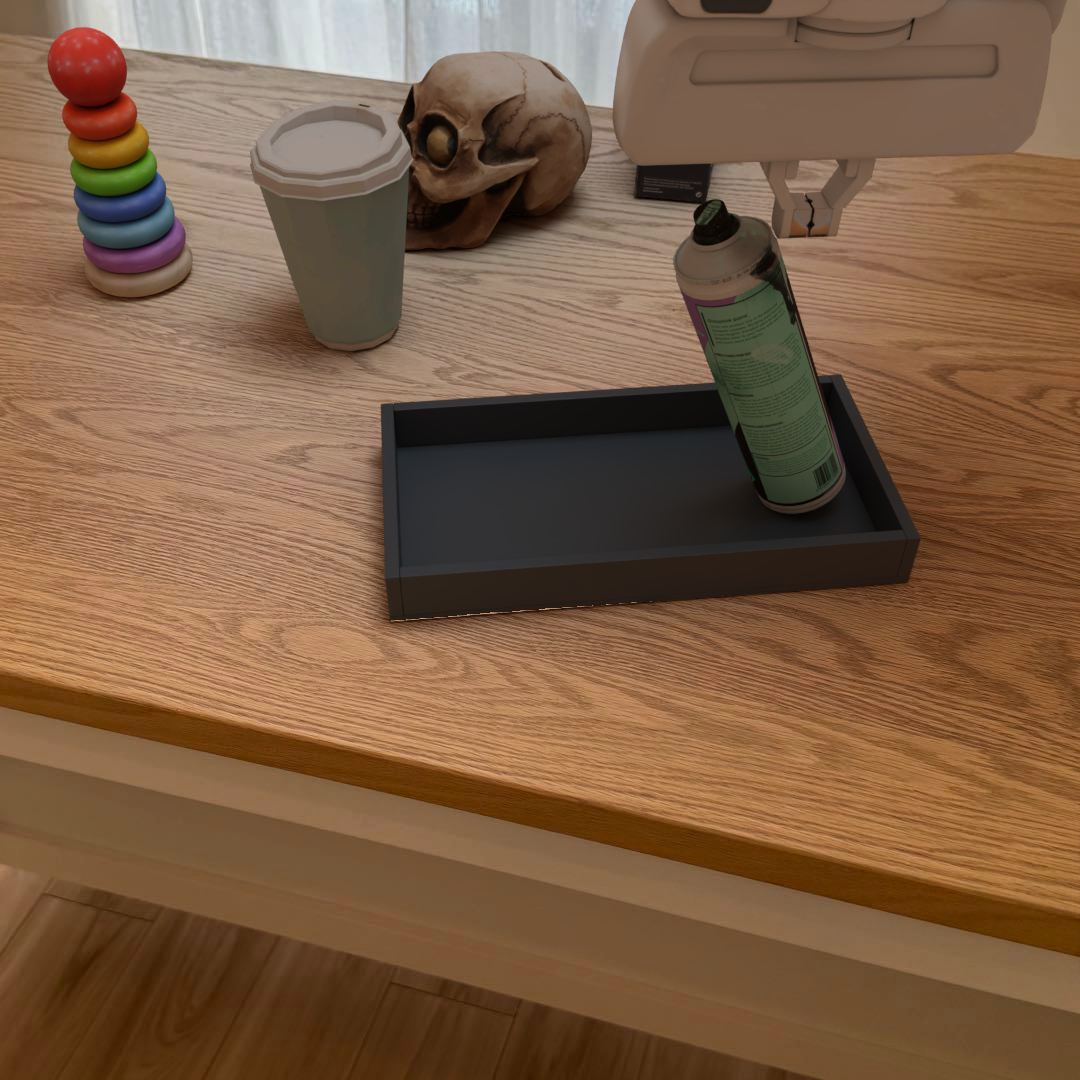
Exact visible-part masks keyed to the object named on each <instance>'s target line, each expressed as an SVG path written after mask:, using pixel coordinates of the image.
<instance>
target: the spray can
mask: <svg viewBox="0 0 1080 1080" xmlns="http://www.w3.org/2000/svg"><path fill="white" fill-rule="evenodd" d="M692 217H693V222H694V226H693V228H692V230H691V232H690V234H689V235H688V236H686V237H685V238H684V240H683V241H682V242H681V243H680V244H679V246H678V247H677V249H676V250H675V252H674V255H673V258H672V259H673V261H672V265H673V269H674V271H675V272H674V273H675V279H676V283H677V286H678V288H679V291H680V293H681V295H682V299H683V301H684V304H685V306H686V309H687V312H688V315H689V317H690V320H691V323H692V326H693V328H694V330H695V333H696V336H697V338H698V341H699V343H700V346H701V349H702V351H703V354H704V357H705V359H706V362H707V365H708V367H709V370H710V373H711V375H712V378H713V381H714V382H715V384H716V386H717V389H718V392H719V394H720V397H721V399H722V402H723V405H724V407H725V410H726V413H727V415H728V418H729V421H730V423H731V426H732V429H733V431H734V434H735V437H736V439H737V442H738V445H739V447H740V450H741V452H742V455H743V458H744V460H745V463H746V466H747V468H748V471H749V474H750V476H751V479H752V482H753V484H754V487H755V490H756V492H757V494H758V496H759V498H760V500H761V502H762V503H763V504H764V505H765V506H766V507H768V508H770V509H772V510H774V511H777V512H780V513H786V514H797V513H804V512H808V511H811V510H814V509H816V508H819V507H821V506H823V505H824V504H826V503H827V502H829V501H830V500H831V499H833V498H834V497H835V496H836V495H837V493H838V492H839V491H840V490H841V488H842V486H843V484H844V482H845V477H846V469H845V464H844V461H843V457H842V454H841V451H840V448H839V444H838V441H837V438H836V434H835V431H834V428H833V424H832V421H831V418H830V414H829V411H828V408H827V404H826V401H825V398H824V394H823V391H822V388H821V384H820V381H819V378H818V376H819V373H818V371H817V368H816V365H815V362H814V358H813V354H812V350H811V348H810V344H809V342H808V341H809V340H808V338H807V335H806V331H805V327H804V324H803V321H802V317H801V315H800V311H799V308H798V305H797V300H796V298H795V295H794V291H793V288H792V285H791V282H790V278H789V275H788V271H787V268H786V265H785V261H784V258H783V255H782V251H781V248H780V245H779V241H778V238H777V237H776V235H775V234H774V231H773V229H772V226H770V225H769V223H768V222H767V221H765V220H763V219H762V218H759V217H756V216H750V215H739V214H737V213H733V212H729V211H728V208H727V206H726V203H725V202H724V201H723V200H722V199H718V198H716V199H715V198H713V199H709V200H706V201H705V202H701V204H699V205H698V206H696V208H695V209H694V211H693V215H692Z"/></svg>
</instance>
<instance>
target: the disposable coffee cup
mask: <svg viewBox="0 0 1080 1080" xmlns="http://www.w3.org/2000/svg"><path fill="white" fill-rule="evenodd" d="M397 121H398V120H397V119H396V116H395V114H394V113H393V112H392V111H389V110H387V109H384V108H382V107H380V106H377V105H375V104H371V103H368V102H367V103H366V102H363V101H362V102H361V101H351V100H339V99H338V100H337V99H334V100H329V101H324V102H319V103H314V104H309V105H306V106H301V107H298V108H296V109H294V110H292V111H290V112H288V113H287V114H284V115H283V116H280V117H279V118H276V119H275V120H273V121H271V122H270V123H269V124H268V125H267V127H266V128H265V129H264V131H263V132H262V133H261V134H260V135H259V137H258V138H257V139H256V141H255V145H254V146H253V147H252V148H251V150H250V151H249V155H250V164H249V166H250V170H251V174H252V178H253V182H254V184H256V185H257V186H258V187H259V189H260V191H261V194H262V197H263V200H264V204H265V206H266V208H267V211H268V214H269V217H270V221H271V223H272V226H273V229H274V232H275V235H276V238H277V240H278V243H279V246H280V249H281V252H282V255H283V258H284V260H285V263H286V266H287V269H288V272H289V275H290V278H291V281H292V284H293V287H294V290H295V293H296V295H297V298H298V299H297V300H298V301H299V304H300V307H301V310H302V313H303V316H304V319H305V321H306V324H307V328H308V330H309V333H311V334H312V335H313V337H314V339H315V341H317V342H318V343H320V344H322V345H323V346H324V347H327V348H328V349H331V350H338V351H346V352H355V351H361V350H366V349H372V348H375V347H377V346H379V345H381V344H382V343H384V342H387V341H388V340H390V339H391V338H392V337H393V335H394V334H395V332H396V330H397V329H398V327H399V321H400V320H401V318H402V315H403V314H402V313H403V311H402V310H403V295H404V294H403V292H404V275H405V258H406V257H405V256H406V255H405V253H406V250H405V238H406V219H407V199H408V180H409V166H410V164H411V163H412V162H413V158H412V155H411V150H410V146H409V144H408V142H407V140H406V138H405V136H404V134H403V132H402V130H401V129H400V128H399V126H398V123H397Z"/></svg>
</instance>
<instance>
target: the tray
mask: <svg viewBox="0 0 1080 1080" xmlns="http://www.w3.org/2000/svg"><path fill="white" fill-rule="evenodd" d="M818 378H819V381H820V384H821V388H822V391H823V394H824V398H825V401H826V404H827V408H828V411H829V414H830V418H831V421H832V424H833V428H834V431H835V434H836V438H837V441H838V444H839V448H840V451H841V454H842V457H843V461H844V464H845V469H846V477H845V482H844V484H843V486H842V488H841V490H840V491H839V492H838V493H837V495H836V496H835V497H834V498H833V499H831V500H830V501H829V502H827V503H826V504H824V505H823V506H821V507H819V508H816V509H814V510H811V511H808V512H804V513H797V514H786V513H780V512H777V511H774V510H772V509H770V508H768V507H766V506H765V505H764V504H763V503H762V502H761V500H760V498H759V496H758V494H757V492H756V490H755V487H754V484H753V482H752V479H751V476H750V474H749V471H748V468H747V466H746V463H745V460H744V458H743V455H742V452H741V450H740V447H739V445H738V442H737V439H736V437H735V434H734V431H733V429H732V426H731V423H730V421H729V418H728V415H727V413H726V410H725V407H724V405H723V402H722V399H721V397H720V394H719V392H718V389H717V386H716V384H715V381H714V382H702V383H701V382H700V383H699V382H698V383H683V384H682V383H681V384H669V385H653V386H638V387H637V386H636V387H621V388H606V389H605V388H604V389H592V390H591V389H589V390H575V391H574V390H573V391H560V392H559V391H557V392H544V393H543V392H542V393H541V392H540V393H528V394H526V393H525V394H512V395H498V396H496V395H495V396H482V397H469V398H468V397H467V398H449V399H435V400H434V399H433V400H432V399H431V400H421V401H420V400H419V401H418V400H417V401H402V402H388V403H380V434H381V435H380V437H381V438H380V439H381V474H382V476H381V477H382V478H381V479H382V480H381V481H382V506H383V507H382V513H383V514H382V515H383V551H384V552H383V554H384V556H383V557H384V558H383V559H384V581H385V591H386V598H387V607H388V615H389V622H390V621H391V620H406V619H419V618H434V617H448V616H457V615H467V614H480V613H490V612H512V611H520V610H539V609H545V608H562V607H577V606H592V605H593V606H598V607H602V606H601V605H606V604H612V605H611V606H615V605H614V604H619V603H631V602H637V603H636V604H640V603H639V602H649V603H658V602H657V601H662V602H669V601H668V600H671V601H672V602H673V601H685V599H687V600H696V599H695V598H700V599H706V598H705V597H710V598H709V599H712V598H711V597H713V598H722V597H721V596H726V597H736V596H735V595H739V596H748V595H749V594H751V595H762V594H763V595H764V594H775V593H776V592H777V593H789V592H801V590H803V591H813V590H814V589H815V590H826V589H827V590H829V589H840V588H855V587H865V586H878V585H879V586H880V585H890V584H902V583H903V584H904V583H909V581H910V577H911V574H912V570H913V567H914V563H915V560H916V557H917V555H918V554H917V553H918V550H919V546H920V543H921V540H922V537H921V535H920V533H919V531H918V529H917V527H916V525H915V523H914V520H913V519H912V517H911V514H910V512H909V510H908V509H907V506H906V504H905V503H904V500H903V498H902V497H901V494H900V492H899V489H898V488H897V486H896V484H895V482H894V480H893V477H892V475H891V474H890V472H889V470H888V468H887V465H886V464H885V461H884V459H883V457H882V455H881V453H880V451H879V449H878V447H877V445H876V443H875V440H874V439H873V437H872V435H871V432H870V430H869V429H868V427H867V424H866V422H865V420H864V418H863V416H862V414H861V412H860V410H859V408H858V406H857V404H856V402H855V400H854V397H853V396H852V394H851V392H850V389H849V387H848V386H847V385H848V384H847V383H846V381H845V379H844V377H843V375H842V374H841V373H840V374H839V373H837V374H827V375H826V374H825V375H824V374H823V375H818ZM715 596H716V597H715ZM679 599H680V600H679ZM650 601H652V602H650ZM671 601H670V602H671Z"/></svg>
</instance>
